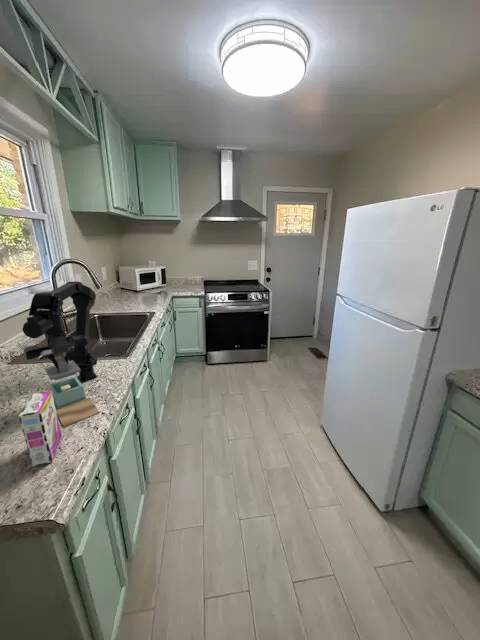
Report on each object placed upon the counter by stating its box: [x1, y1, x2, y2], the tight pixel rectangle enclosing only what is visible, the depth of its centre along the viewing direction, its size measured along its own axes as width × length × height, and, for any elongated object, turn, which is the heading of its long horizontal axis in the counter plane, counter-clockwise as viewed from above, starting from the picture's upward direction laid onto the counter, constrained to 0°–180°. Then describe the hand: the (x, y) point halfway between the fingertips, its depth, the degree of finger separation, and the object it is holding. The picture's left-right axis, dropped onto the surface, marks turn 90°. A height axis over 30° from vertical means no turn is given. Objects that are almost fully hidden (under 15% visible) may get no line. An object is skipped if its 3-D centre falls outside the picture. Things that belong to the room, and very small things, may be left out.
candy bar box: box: [18, 390, 62, 468], centre depth 75 cm, size 11×5×16 cm, turn 21°
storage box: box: [48, 375, 87, 409], centre depth 102 cm, size 10×9×6 cm
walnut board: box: [56, 397, 101, 428], centre depth 95 cm, size 12×11×1 cm
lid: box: [43, 355, 81, 381], centre depth 99 cm, size 10×9×6 cm
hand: (62, 367), depth 99 cm, fingers closed on lid, 2 cm apart
